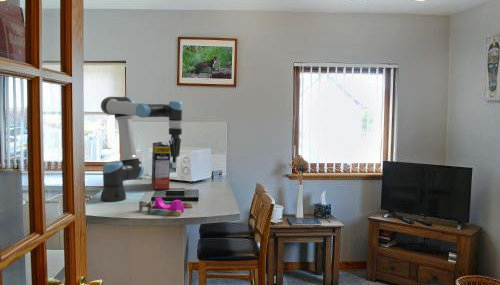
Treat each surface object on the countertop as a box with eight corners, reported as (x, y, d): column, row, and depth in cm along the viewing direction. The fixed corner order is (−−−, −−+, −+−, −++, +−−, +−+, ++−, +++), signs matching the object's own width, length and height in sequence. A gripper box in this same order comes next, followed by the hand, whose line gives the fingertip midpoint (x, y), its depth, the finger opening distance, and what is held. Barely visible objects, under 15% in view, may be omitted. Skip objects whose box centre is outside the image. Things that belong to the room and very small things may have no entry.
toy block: (183, 212, 230) (183, 199, 230) (176, 215, 225) (176, 201, 224) (162, 209, 237) (162, 196, 236) (154, 211, 231) (154, 198, 231)
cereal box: (169, 190, 291) (171, 144, 289) (153, 190, 288) (154, 144, 286) (166, 183, 317) (167, 141, 314) (150, 183, 313) (151, 141, 311)
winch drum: (138, 210, 232) (138, 202, 232) (142, 209, 237) (142, 200, 236) (150, 211, 231) (150, 202, 230) (153, 209, 235) (153, 200, 235)
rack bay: (148, 213, 226) (147, 208, 226) (162, 205, 246) (162, 200, 246) (180, 215, 223) (180, 210, 222) (192, 207, 242) (192, 201, 242)
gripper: (177, 128, 236) (176, 169, 239) (185, 127, 249) (185, 166, 251) (164, 128, 238) (164, 168, 240) (173, 126, 251) (173, 165, 253)
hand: (174, 167), depth 246 cm, fingers closed
